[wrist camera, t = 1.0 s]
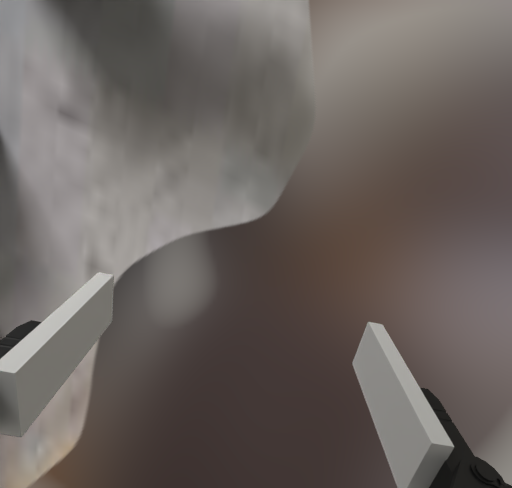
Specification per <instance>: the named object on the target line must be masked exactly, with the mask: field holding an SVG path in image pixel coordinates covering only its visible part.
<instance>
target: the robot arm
mask: <svg viewBox="0 0 512 488" xmlns="http://www.w3.org/2000/svg"><path fill="white" fill-rule="evenodd" d="M113 282H114V275H110V274H105V273H99V272H98V273H97V274H96V275H95V276H94V277H92V278H91V279H90V280H89V281H88V282H87V283H86V284H85V285H83V286H82V287H81V288H80V289H79V290H78V291H77V292H76V293H74V294H73V295H72V296H71V297H70V298H69V299H68V300H66V301H65V302H64V303H63V304H62V305H61V306H60V307H59V308H57V309H56V310H55V311H54V312H53V313H52V314H51V315H50V316H48V317H47V318H46V319H45V320H44V321H43V322H37V321H29V322H27V323H25V324H23V325H20V326H18V327H16V328H15V329H14V330H13V331H11V332H10V333H9V334H8V335H7V336H6V337H5V338H3V339H2V340H0V434H4V435H10V436H16V437H22V436H23V435H24V433H25V432H26V431H27V430H28V428H29V427H30V426H31V425H32V423H33V422H34V421H35V419H36V418H37V417H38V416H39V414H40V413H41V412H42V410H43V409H44V408H45V407H46V405H47V404H48V403H49V401H50V400H51V399H52V398H53V396H54V395H55V394H56V392H57V391H58V390H59V389H60V387H61V386H62V385H63V383H64V382H65V381H66V380H67V378H68V377H69V376H70V374H71V373H72V372H73V371H74V369H75V368H76V367H77V365H78V364H79V363H80V362H81V360H82V359H83V358H84V356H85V355H86V354H87V353H88V351H89V350H90V349H91V347H92V346H93V345H94V344H95V342H96V341H97V340H98V339H99V337H100V336H101V335H102V333H103V332H104V331H105V329H106V328H107V327H108V326H109V324H110V323H111V322H112V309H113ZM352 364H353V367H354V370H355V373H356V375H357V378H358V381H359V384H360V386H361V389H362V391H363V394H364V397H365V400H366V402H367V405H368V408H369V411H370V414H371V416H372V419H373V422H374V425H375V427H376V430H377V433H378V436H379V438H380V441H381V444H382V446H383V449H384V452H385V455H386V457H387V460H388V463H389V465H390V468H391V471H392V474H393V476H394V479H395V482H396V485H397V487H398V488H512V486H511V485H509V484H506V483H505V482H504V481H503V479H502V477H501V476H500V475H499V474H498V472H497V471H496V470H495V469H494V468H493V467H492V466H490V465H489V464H488V463H487V462H485V461H483V460H481V459H480V458H478V457H475V456H474V455H473V453H472V452H471V450H470V448H469V447H468V445H467V444H466V442H465V441H464V439H463V437H462V436H461V434H460V433H459V431H458V429H457V428H456V426H455V425H454V423H452V420H451V418H450V417H449V415H448V414H447V413H446V410H445V409H444V407H443V406H442V404H441V403H440V401H439V400H438V399H437V398H436V397H435V396H434V395H433V394H432V393H431V392H430V391H429V390H428V389H424V388H420V387H419V386H418V384H417V382H416V381H415V379H414V377H413V375H412V374H411V372H410V370H409V369H408V367H407V365H406V364H405V362H404V360H403V358H402V357H401V355H400V353H399V352H398V350H397V348H396V347H395V345H394V343H393V342H392V340H391V338H390V337H389V335H388V333H387V332H386V330H385V328H384V326H383V325H382V324H378V323H372V322H368V323H367V326H366V329H365V331H364V334H363V337H362V339H361V342H360V344H359V347H358V350H357V352H356V355H355V358H354V360H353V363H352Z"/></svg>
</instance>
